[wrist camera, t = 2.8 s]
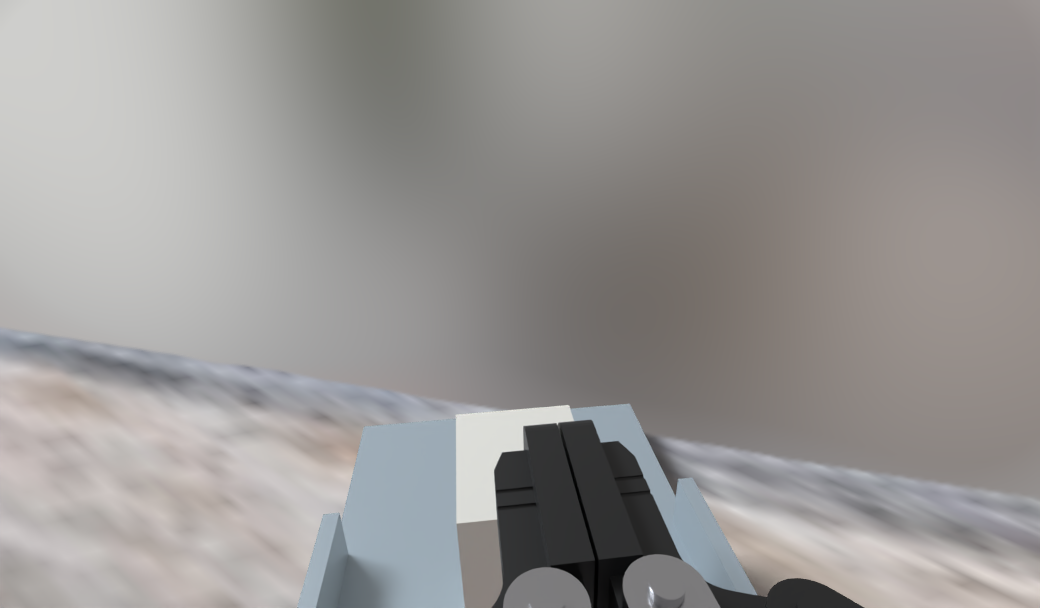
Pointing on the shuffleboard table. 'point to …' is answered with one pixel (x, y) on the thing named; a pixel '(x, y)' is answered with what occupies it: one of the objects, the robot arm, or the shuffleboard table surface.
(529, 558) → the robot arm
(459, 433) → the cream block
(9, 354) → the shuffleboard table surface
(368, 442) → the trough
